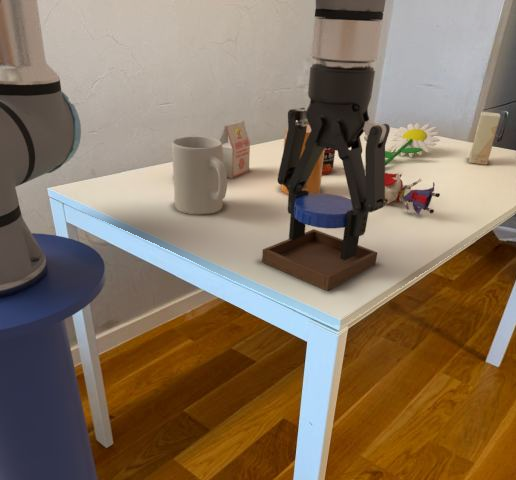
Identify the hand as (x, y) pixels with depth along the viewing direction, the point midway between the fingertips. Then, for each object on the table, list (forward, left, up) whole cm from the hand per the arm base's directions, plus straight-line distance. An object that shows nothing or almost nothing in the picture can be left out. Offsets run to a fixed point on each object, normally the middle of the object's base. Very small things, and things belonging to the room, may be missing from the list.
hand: (321, 246), depth 71 cm
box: (-10, +77, -3) cm, 78 cm away
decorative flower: (-24, +63, -3) cm, 68 cm away
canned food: (-31, +38, -3) cm, 49 cm away
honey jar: (-24, +24, -3) cm, 34 cm away
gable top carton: (-41, +22, -3) cm, 47 cm away
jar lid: (0, 0, +6) cm, 6 cm away
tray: (0, 0, -3) cm, 3 cm away
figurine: (-5, +31, -3) cm, 32 cm away
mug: (-28, +2, -3) cm, 28 cm away
